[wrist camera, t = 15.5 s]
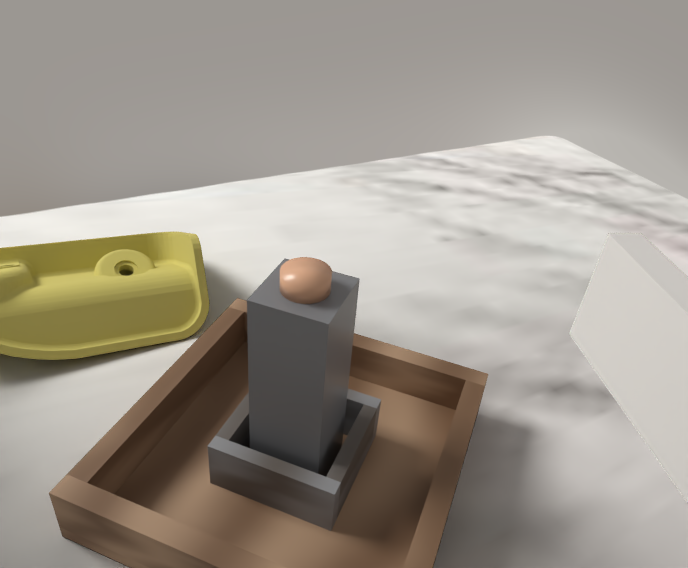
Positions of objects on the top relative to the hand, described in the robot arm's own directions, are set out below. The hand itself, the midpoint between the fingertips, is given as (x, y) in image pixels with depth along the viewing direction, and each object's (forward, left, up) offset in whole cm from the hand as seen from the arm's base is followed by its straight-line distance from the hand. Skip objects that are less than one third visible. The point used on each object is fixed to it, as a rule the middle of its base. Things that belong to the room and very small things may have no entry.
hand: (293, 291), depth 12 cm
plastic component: (-27, +19, -23) cm, 40 cm away
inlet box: (-5, +13, -22) cm, 26 cm away
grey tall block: (-5, +13, -21) cm, 25 cm away
